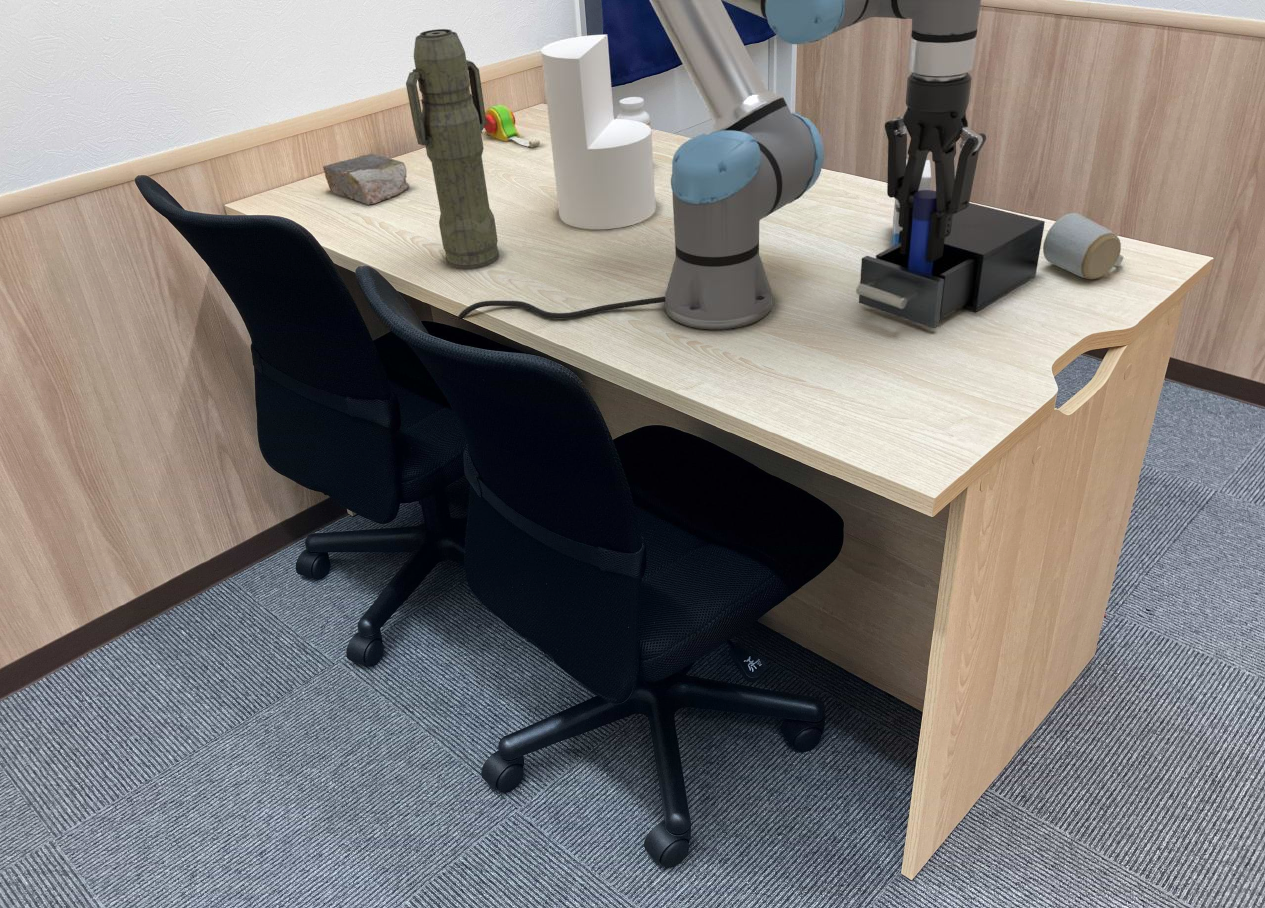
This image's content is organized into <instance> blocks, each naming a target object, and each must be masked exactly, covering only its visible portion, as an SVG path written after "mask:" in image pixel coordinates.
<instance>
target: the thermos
mask: <svg viewBox="0 0 1265 908" xmlns="http://www.w3.org/2000/svg"><path fill="white" fill-rule="evenodd" d="M413 60H414V69H412V71H410V72H409V73H408V76H407V79H406V82H405V85H406V91H407V97H408V103H409V109H410V113H411V119H412V125H413V130H414V134H415V137H416V141H417V144H418V145H420V146H425V151H426V156H427V158H428V160H429V161H430V162H431V167H432V168H431V169H432V172H433V178H434V184H435V189H436V196H437V201H438V205H439V206H438V207H439V213H440V214H439V221H438V226H439V231H440V237H441V243H442V248H443V250H444V252H445V259H446V265H448V266H449V267H451V268H454V269H458V270H474V269H480V268H483V267H488V266H489V265H491V264H494V263H495V262H496V261H497V260H498V259H499V257H500V251H499V249H498V242H499V240H498V239H499V238H498V233H497V226H496V220H495V215H494V213H493V211H492V209H491V208H490V203H489V195H488V189H487V182H486V176H485V175H486V174H485V170H484V163H483V153H484V141H483V130H485V128H484V127H485V125H486V123H487V121H486V115H485V113H486V110H485V109H486V108H485V103H484V95H483V87H482V82H481V75H480V69H479V67H477V65H476V64H475V63H474V62H473V61H471V60H468V59H467V55H466V51H465V47H464V46H463V44H462V41H461V39H460V37H459V35H458V32H457V31H452V29H447V28H437V29H430V30H426V31H422V32H420V33H419V35H417V36H415V41H414V48H413ZM419 93H421V98H422V99H421V100H420V96H419ZM420 101H421V102H420Z"/></svg>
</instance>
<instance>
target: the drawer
mask: <svg viewBox="0 0 1265 908" xmlns="http://www.w3.org/2000/svg"><path fill="white" fill-rule="evenodd" d="M900 251H901V243H899V244H897V245H895V246H893V245H892V247H888V248H887V249H886V250H883V251H881V252H880V253H877V254H876V255H875V257H873V256H869V255H866V256H864V257H861V266H860V277H859V278H860V279H859V284H858V286H857V288H856V294H857V295H859V296H858V303H859V304H861V305H864V306H866V307H870V308H873V309H876V310H878V311H881V312H884V313H887V314H890V315H893V316H895V317H899V318H901V319H904V320H906V321H910V322H913V323H916V324H918V325H922V326H924V327H927V328H930V329H934V330H935V329H936V328H938V327H939V325H940V320H942V319H944V318H945V317H947V316H949V315H951V314H952V313H954V312H956V311H957V310H959V309H962V308H961V307H963V306H964V305H966V304H968V303H969V302H971V301H973V298H974V290H975V283H976V276H977V268H978V261H979V258H976V257H972V256H969V255H965V254H962V253H958V252H955V251H951V250H948V249H944V250H943V256H942V257H941V258H939V259H937V260H935V261H933V267H932V275H928V274H925V273H922V272H919V271H915V270H912V269H909V268H908V261H909V253H908V254H906V255H904V254H900Z"/></svg>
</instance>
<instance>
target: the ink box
mask: <svg viewBox="0 0 1265 908" xmlns="http://www.w3.org/2000/svg"><path fill="white" fill-rule="evenodd" d="M907 162H908V158H907V161H906V166H907ZM931 167H932V166H931V160H930V159H926V163H925V167H924V171H923V174H922V178H921V182H920V186H919V190H918V191H921V190H931V187H932V186H931V184H932V170H931ZM899 209H900V204H899V202H898V200H897V199H895V198H894V205H893V218H892V231H891V232H892V247H893V246H895V245H897V244H898V241H899V231H901V230H902V229H903V228H902V227H899V224H898V221H899Z"/></svg>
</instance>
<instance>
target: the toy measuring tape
mask: <svg viewBox="0 0 1265 908" xmlns="http://www.w3.org/2000/svg"><path fill="white" fill-rule="evenodd" d="M485 115H486V121H487V123H486V125H485V127H484V130H485V133H486V135H488V136H490V137H493V139H497V140H500V141H503V142H509V141H513V142H515V143H517V144H518V145H519V146H522V147H523V146H524V147H527V148H528V147H529V148H535V147H539V145H540V144H541V141H540V139H539V138H536V139H533V140H527V139H525V138H522V137H520V133H519V131H518V129H517V128H516V117H515V114H514V113H513V112H512V111H511V110H510V109H509V108H508V107H507V106H506V105H502V104H498V105H494V106H490V107H489V108H488V109H487V110H485Z"/></svg>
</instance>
